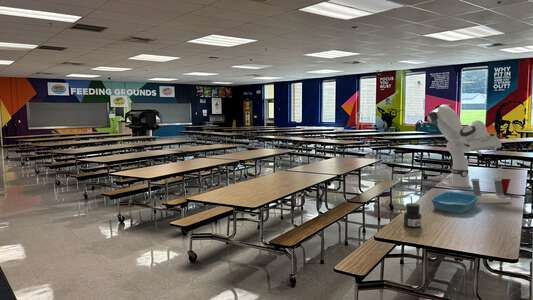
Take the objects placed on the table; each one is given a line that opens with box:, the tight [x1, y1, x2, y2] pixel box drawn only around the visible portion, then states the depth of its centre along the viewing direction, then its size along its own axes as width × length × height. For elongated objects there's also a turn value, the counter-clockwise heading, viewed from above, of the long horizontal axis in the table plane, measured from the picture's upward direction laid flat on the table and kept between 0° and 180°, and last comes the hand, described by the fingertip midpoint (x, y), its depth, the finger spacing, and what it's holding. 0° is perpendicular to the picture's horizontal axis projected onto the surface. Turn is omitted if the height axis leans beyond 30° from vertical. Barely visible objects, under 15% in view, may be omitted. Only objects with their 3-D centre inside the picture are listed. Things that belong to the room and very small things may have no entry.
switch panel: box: [470, 193, 512, 204], centre depth 263 cm, size 14×22×3 cm, turn 92°
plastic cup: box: [494, 176, 512, 194], centre depth 286 cm, size 11×11×12 cm
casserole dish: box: [431, 191, 478, 214], centre depth 244 cm, size 37×22×7 cm, turn 137°
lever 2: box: [493, 177, 505, 196], centre depth 264 cm, size 2×4×12 cm, turn 91°
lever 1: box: [470, 178, 482, 196], centre depth 263 cm, size 2×4×12 cm, turn 92°
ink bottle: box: [403, 202, 422, 229], centre depth 206 cm, size 10×9×12 cm
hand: (487, 153), depth 271 cm, fingers open, 8 cm apart
